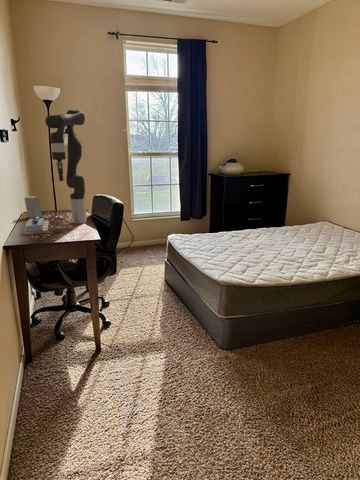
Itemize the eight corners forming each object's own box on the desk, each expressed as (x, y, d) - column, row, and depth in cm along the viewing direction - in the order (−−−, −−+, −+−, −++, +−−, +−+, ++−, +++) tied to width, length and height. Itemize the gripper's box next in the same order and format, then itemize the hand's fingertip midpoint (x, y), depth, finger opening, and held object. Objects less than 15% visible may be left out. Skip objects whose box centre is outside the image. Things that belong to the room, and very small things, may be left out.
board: (27, 223, 225) (27, 221, 224) (48, 222, 229) (48, 220, 229) (22, 234, 197) (22, 232, 197) (47, 232, 202) (47, 230, 202)
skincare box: (42, 216, 247) (39, 196, 243) (34, 218, 241) (32, 197, 236) (34, 215, 251) (31, 195, 246) (26, 217, 244) (23, 196, 240)
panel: (29, 224, 217) (29, 219, 216) (44, 223, 220) (43, 218, 219) (26, 231, 198) (26, 226, 197) (42, 230, 201) (42, 224, 200)
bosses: (34, 224, 217) (33, 217, 215) (39, 224, 218) (39, 216, 216) (32, 228, 206) (31, 220, 205) (38, 228, 207) (37, 220, 206)
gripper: (51, 151, 195) (55, 180, 200) (51, 151, 183) (54, 182, 188) (65, 151, 197) (67, 179, 202) (65, 151, 185) (68, 181, 190)
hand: (61, 180), depth 195 cm, fingers closed
